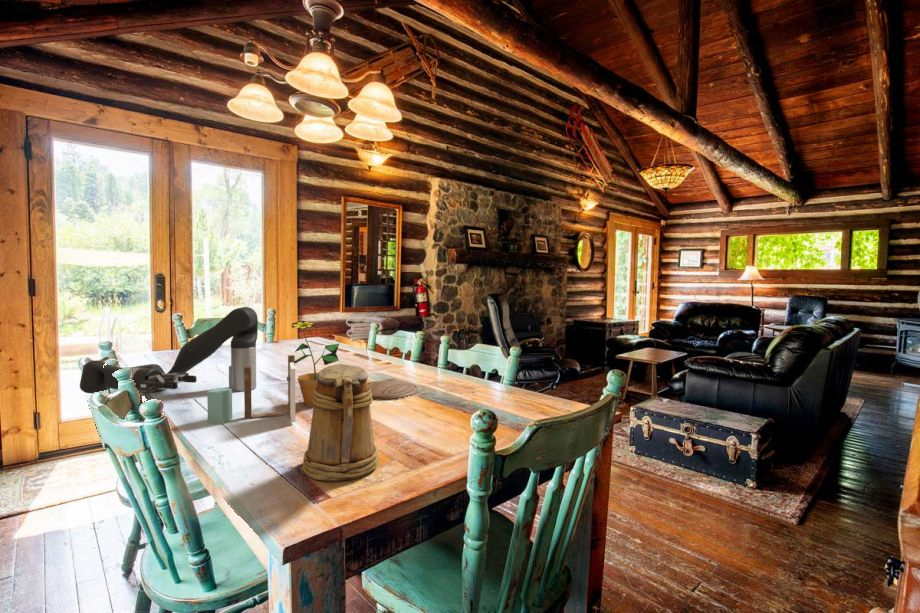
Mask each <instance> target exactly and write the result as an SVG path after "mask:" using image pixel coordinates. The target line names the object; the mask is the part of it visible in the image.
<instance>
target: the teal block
mask: <svg viewBox="0 0 920 613" xmlns="http://www.w3.org/2000/svg"><path fill="white" fill-rule="evenodd" d="M206 394H207V396H206V398H207V401H206V402H207V423H208V424H217V425H218V424H219V425H221V424H223V425H224V424H225V423H227V422H229V421H231V420H233V390H232V389H229V387H228V388H225V387H216V388H214V389H210V390H208V391H207V392H206Z"/></svg>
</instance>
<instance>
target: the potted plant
mask: <svg viewBox="0 0 920 613" xmlns="http://www.w3.org/2000/svg"><path fill="white" fill-rule="evenodd" d="M314 323H315V322H314V321H307V320H301V321H296V322H292V323H291V328H294V329H298V330H299V329H301V330H303V335H304V340H305V342H306V344H305V343H303V342H302V343H301V344H299V346H298V347H296V350H295V351H294V353H296V352H299V351H301V352H302V356H301V357H299V358H297V359H295V364H297V363H300V362H301V361H303V360H305V359H306V358H308V357H311V358H312V363H313V372H311V373H310V372H309V373H305V374H300V375H298V376H297V382H298V384H299V389H300V391H301V392H300V393H301V396H302V399H303V402H304V405H305V406H308V407H314V403H313V392H314V388H315V387H316V386H317V378H316V375H317V373H318V372H317V371H316V364H318V362H319V360H321V359H322V361H323V365H324V366H327V365H330V364H333V363H336V362H339V357H338V355H337V352H338V349H339V345H340V343H333V344H327V345H325V346H324V350H323V352H322V354H321V356H320V357H319V358H318V359H317V360H316V361H315V360H314V356H313V352H312V348H311V346H310V345H309V342H308V340H307V338H306V333H305V330H304V329H308V328H312V327H314V326H315V324H314ZM305 349H308V350H309V352H310V354H306V353H305V352H304V350H305ZM325 350H327V351H328V352H329V353H328V354H325V355H324V353H325V352H326V351H325Z"/></svg>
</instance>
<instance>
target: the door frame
mask: <svg viewBox="0 0 920 613" xmlns="http://www.w3.org/2000/svg"><path fill="white" fill-rule="evenodd" d="M295 357H296V355H294V354H289V355H287V375H288V376H287V377H289V376H290V363H291V362H294V366H295V367H296V363H295V360H296V358H295ZM243 393H244V394H243V395H244V398H243V399H244V420H249V419H252V420H253V419H254V420H256V419H264V418H275V417H283V416H284V411H276V412H275V411H274V412H263V413H253V414H252V410H253V409H252V408H253V407H252V390H251V366H244V391H243ZM287 393H288V394H287V406H288V407H287V408H288V409H287V411H288V412H287V413H288V416H290V381H287Z"/></svg>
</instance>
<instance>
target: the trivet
mask: <svg viewBox="0 0 920 613" xmlns="http://www.w3.org/2000/svg"><path fill="white" fill-rule="evenodd" d="M367 383H368V386H370V388H371V392H372V398H373V400H375V399H381V400H380V401H390V400H389V399H395V400H400V399H399V398H403V399H405V398H404V397H408V396H412V395H414V394H416V393H417V392H418V393H419V386H418V385H416V384H415V383H413V382H407V381H402V380H376V381H369V382H367ZM418 393H417V394H418ZM417 394H416V395H417ZM414 396H415V395H414ZM412 397H413V396H412ZM408 398H409V397H408ZM387 399H388V400H387Z"/></svg>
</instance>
